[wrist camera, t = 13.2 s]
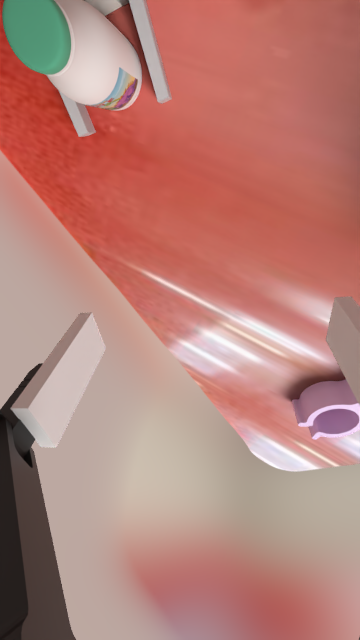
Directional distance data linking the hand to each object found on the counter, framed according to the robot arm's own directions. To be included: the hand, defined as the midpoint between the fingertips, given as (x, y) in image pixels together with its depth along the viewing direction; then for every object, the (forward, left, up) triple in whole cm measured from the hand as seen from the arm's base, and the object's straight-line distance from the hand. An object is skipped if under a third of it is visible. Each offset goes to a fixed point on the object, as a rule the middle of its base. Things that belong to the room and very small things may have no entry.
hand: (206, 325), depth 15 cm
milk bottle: (+9, -18, -35) cm, 40 cm away
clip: (-18, +52, -35) cm, 65 cm away
